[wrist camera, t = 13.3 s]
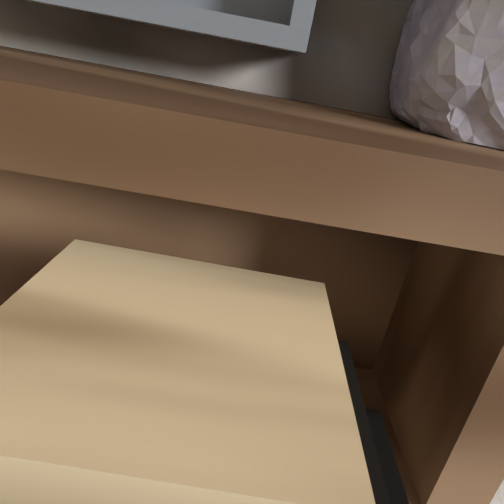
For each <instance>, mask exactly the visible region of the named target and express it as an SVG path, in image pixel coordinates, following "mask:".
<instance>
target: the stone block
mask: <svg viewBox="0 0 504 504" xmlns="http://www.w3.org/2000/svg"><path fill="white" fill-rule="evenodd" d="M389 91H390V100H389V102H390V107H391V110H392V113H393V114H394V115H395V116H396V117H397V118H398V119H399V120H401V121H405V122H406V123H408V124H410V125H411V126H413V127H415V128H419V129H420V130H421V131H423V132H425V133H430V134H435V135H438V136H441V137H445V138H448V139H451V140H453V141H459V142H468V143H473V144H478V145H483V146H487V147H492V148H496V149H501V150H504V0H413V2H412V4H411V7H410V9H409V11H408V13H407V18H406V22H405V24H404V26H403V29H402V33H401V37H400V41H399V45H398V48H397V52H396V56H395V62H394V67H393V71H392V76H391V82H390V85H389Z"/></svg>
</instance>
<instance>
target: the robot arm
mask: <svg viewBox="0 0 504 504" xmlns="http://www.w3.org/2000/svg"><path fill="white" fill-rule="evenodd" d="M338 344H339V348H340V353H341V357H342V361H343V366H344V370H345V374H346V379H347V383H348V387H349V392H350V396H351V400H352V404H353V409H354V413H355V417H356V422H357V426H358V430H359V435H360V439H361V443H362V448H363V452H364V456H365V461H366V465H367V469H368V474H369V478H370V482H371V486H372V491H373V495H374V499H375V504H409V502H408V498H407V495H406V492H405V489H404V485H403V482H402V479H401V476H400V472H399V469H398V466H397V463H396V459H395V456H394V453H393V450H392V446H391V443H390V440H389V437H388V433H387V430H386V427H385V424H384V420H383V418H382V416H381V413H380V412H379V411H377V410H372V409H366V408H365V406H364V402H363V398H362V394H361V391H360V387H359V383H358V379H357V376H356V372H355V368H354V364H353V361H352V357H351V353H350V349H349V346H348V343H347V342H346V341H343V340H338Z"/></svg>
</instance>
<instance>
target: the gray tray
mask: <svg viewBox="0 0 504 504" xmlns="http://www.w3.org/2000/svg"><path fill="white" fill-rule="evenodd" d="M24 1H30V2H35V3H40V4H45V5H50V6H56V7H61V8H66V9H71V10H76V11H82V12H87V13H92V14H97V15H103V16H108V17H113V18H118V19H123V20H129V21H134V22H139V23H144V24H150V25H155V26H160V27H165V28H170V29H176V30H181V31H186V32H191V33H196V34H202V35H207V36H212V37H217V38H223V39H228V40H233V41H238V42H243V43H249V44H254V45H259V46H264V47H270V48H275V49H280V50H285V51H290V52H296V53H306V50H307V45H308V40H309V36H310V31H311V26H312V21H313V16H314V11H315V6H316V1H317V0H24Z"/></svg>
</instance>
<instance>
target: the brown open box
mask: <svg viewBox="0 0 504 504" xmlns="http://www.w3.org/2000/svg"><path fill="white" fill-rule="evenodd" d="M75 239H77V240H83V241H88V242H94V243H100V244H105V245H111V246H117V247H122V248H128V249H134V250H139V251H145V252H150V253H156V254H162V255H167V256H173V257H179V258H184V259H190V260H196V261H201V262H207V263H213V264H218V265H224V266H230V267H235V268H241V269H247V270H252V271H258V272H264V273H269V274H275V275H281V276H286V277H292V278H297V279H303V280H309V281H314V282H320V283H324V284H325V288H326V292H327V297H328V301H329V305H330V310H331V314H332V318H333V322H334V327H335V331H336V335H337V340H343V341H346V342H347V343H348V346H349V349H350V353H351V357H352V361H353V364H354V368H355V372H356V376H357V379H358V383H359V387H360V391H361V394H362V398H363V402H364V406H365V408H366V409H372V410H377V411H379V412H380V413H381V416H382V418H383V420H384V424H385V427H386V430H387V433H388V437H389V440H390V443H391V446H392V450H393V453H394V456H395V459H396V463H397V466H398V469H399V472H400V476H401V479H402V482H403V485H404V489H405V492H406V495H407V498H408V502H409V504H489V503H490V502H491V500H492V498H493V496H494V495H495V493H496V491H497V489H498V488H499V486H500V484H501V482H502V481H503V479H504V150H501V149H496V148H492V147H487V146H483V145H478V144H473V143H468V142H459V141H453V140H451V139H448V138H445V137H441V136H438V135H435V134H430V133H425V132H423V131H421V130H420V129H419V128H415V127H413V126H411V125H410V124H408V123H406V122H405V121H401V120H396V119H390V118H385V117H380V116H374V115H369V114H363V113H358V112H353V111H347V110H342V109H337V108H331V107H326V106H320V105H315V104H310V103H304V102H299V101H293V100H288V99H283V98H277V97H272V96H267V95H261V94H256V93H250V92H245V91H240V90H234V89H229V88H224V87H218V86H213V85H207V84H202V83H197V82H191V81H186V80H181V79H175V78H170V77H164V76H159V75H154V74H148V73H143V72H138V71H132V70H127V69H121V68H116V67H111V66H105V65H100V64H95V63H89V62H84V61H78V60H73V59H68V58H62V57H57V56H51V55H46V54H41V53H35V52H30V51H25V50H19V49H14V48H8V47H3V46H0V306H1V305H2V304H3V303H4V302H5V301H7V300H8V299H9V298H10V297H11V296H12V295H13V294H14V293H16V292H17V291H18V290H19V289H20V288H21V287H22V286H23V285H24V284H26V283H27V282H28V281H29V280H30V279H31V278H32V277H33V276H35V275H36V274H37V273H38V272H39V271H40V270H41V269H42V268H43V267H45V266H46V265H47V264H48V263H49V262H50V261H51V260H52V259H54V258H55V257H56V256H57V255H58V254H59V253H60V252H61V251H63V250H64V249H65V248H66V247H67V246H68V245H69V244H70V243H71V242H73V241H74V240H75Z"/></svg>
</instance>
